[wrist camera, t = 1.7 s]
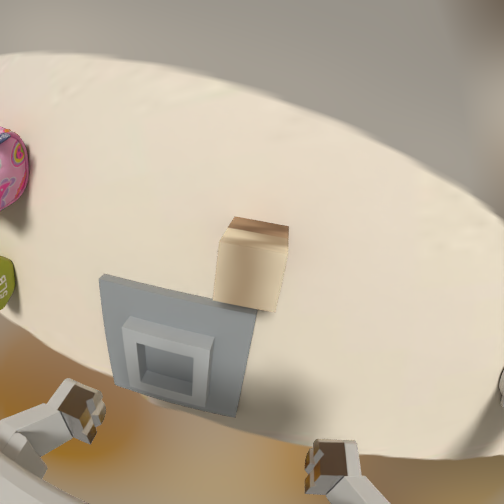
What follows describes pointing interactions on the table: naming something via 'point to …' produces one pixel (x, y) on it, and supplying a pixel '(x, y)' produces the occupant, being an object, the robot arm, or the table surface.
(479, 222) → the table surface
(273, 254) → the stack block
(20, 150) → the pencil case
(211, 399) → the socket board
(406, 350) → the table surface
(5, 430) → the robot arm
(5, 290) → the dumbbell
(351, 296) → the table surface
